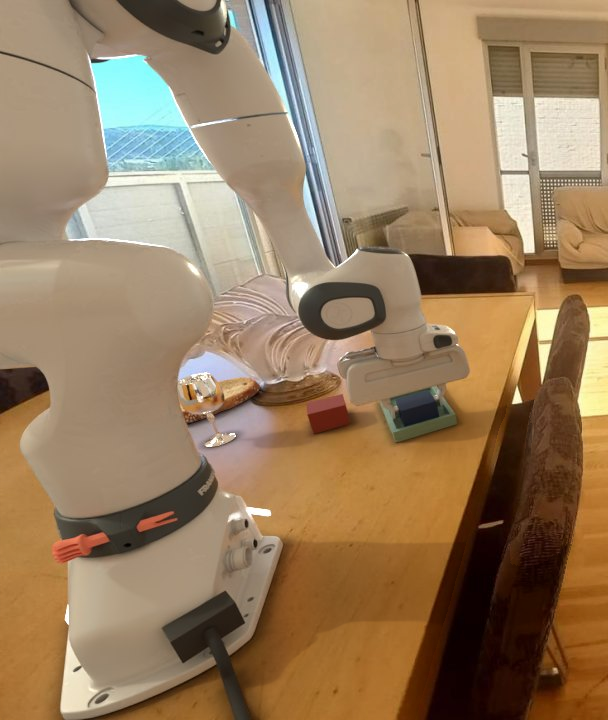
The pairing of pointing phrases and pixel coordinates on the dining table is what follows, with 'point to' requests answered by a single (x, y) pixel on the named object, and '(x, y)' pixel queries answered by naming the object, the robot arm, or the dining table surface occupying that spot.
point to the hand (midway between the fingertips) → (418, 411)
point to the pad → (417, 408)
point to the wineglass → (203, 402)
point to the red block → (327, 413)
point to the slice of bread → (229, 396)
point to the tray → (404, 433)
